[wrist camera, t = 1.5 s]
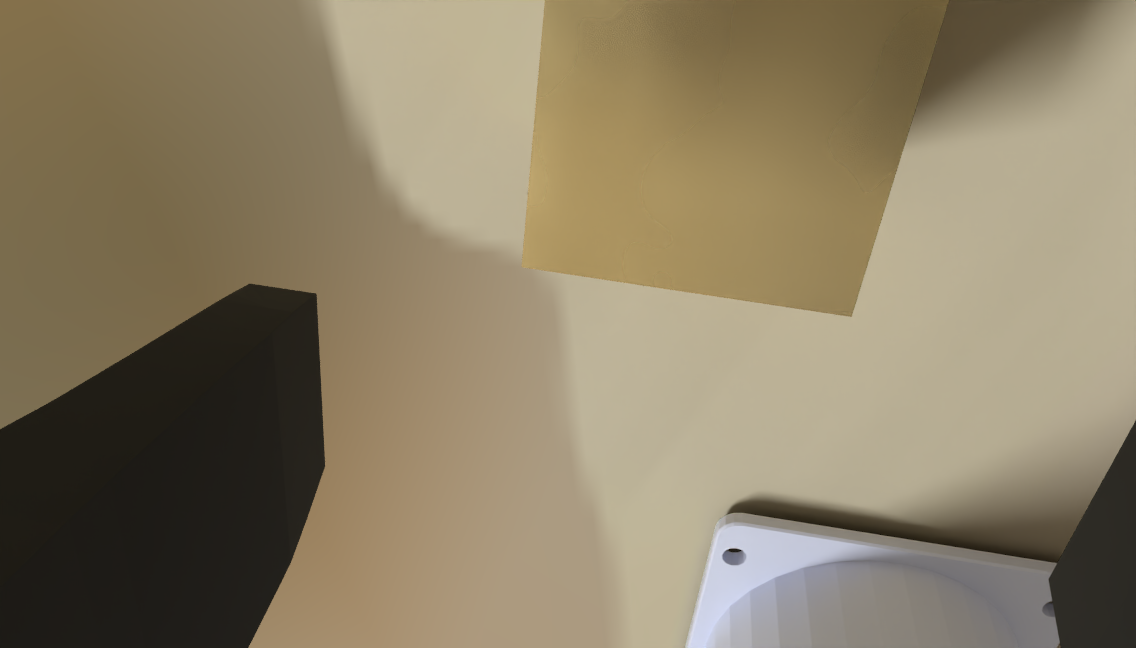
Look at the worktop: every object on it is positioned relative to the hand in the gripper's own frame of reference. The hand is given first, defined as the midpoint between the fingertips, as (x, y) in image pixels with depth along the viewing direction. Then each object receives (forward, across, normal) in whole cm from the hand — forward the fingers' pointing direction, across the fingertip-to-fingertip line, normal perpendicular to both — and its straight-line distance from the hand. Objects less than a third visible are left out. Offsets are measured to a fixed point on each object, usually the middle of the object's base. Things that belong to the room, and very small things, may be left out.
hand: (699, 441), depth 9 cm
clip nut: (+10, 0, -1) cm, 10 cm away
